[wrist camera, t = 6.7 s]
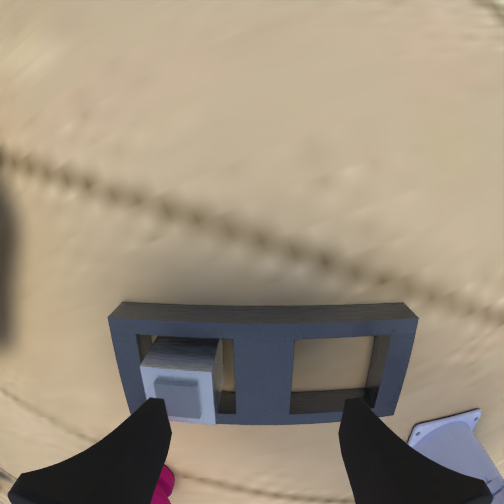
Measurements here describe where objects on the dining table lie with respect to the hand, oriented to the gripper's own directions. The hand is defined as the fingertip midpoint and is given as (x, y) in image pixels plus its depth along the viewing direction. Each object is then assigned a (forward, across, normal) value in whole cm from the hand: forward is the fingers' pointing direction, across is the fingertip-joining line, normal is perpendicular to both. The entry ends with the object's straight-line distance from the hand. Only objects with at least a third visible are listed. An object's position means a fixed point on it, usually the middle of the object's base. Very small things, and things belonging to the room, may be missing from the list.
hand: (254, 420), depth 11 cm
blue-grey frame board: (+9, 0, +3) cm, 10 cm away
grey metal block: (+9, +4, +3) cm, 11 cm away
